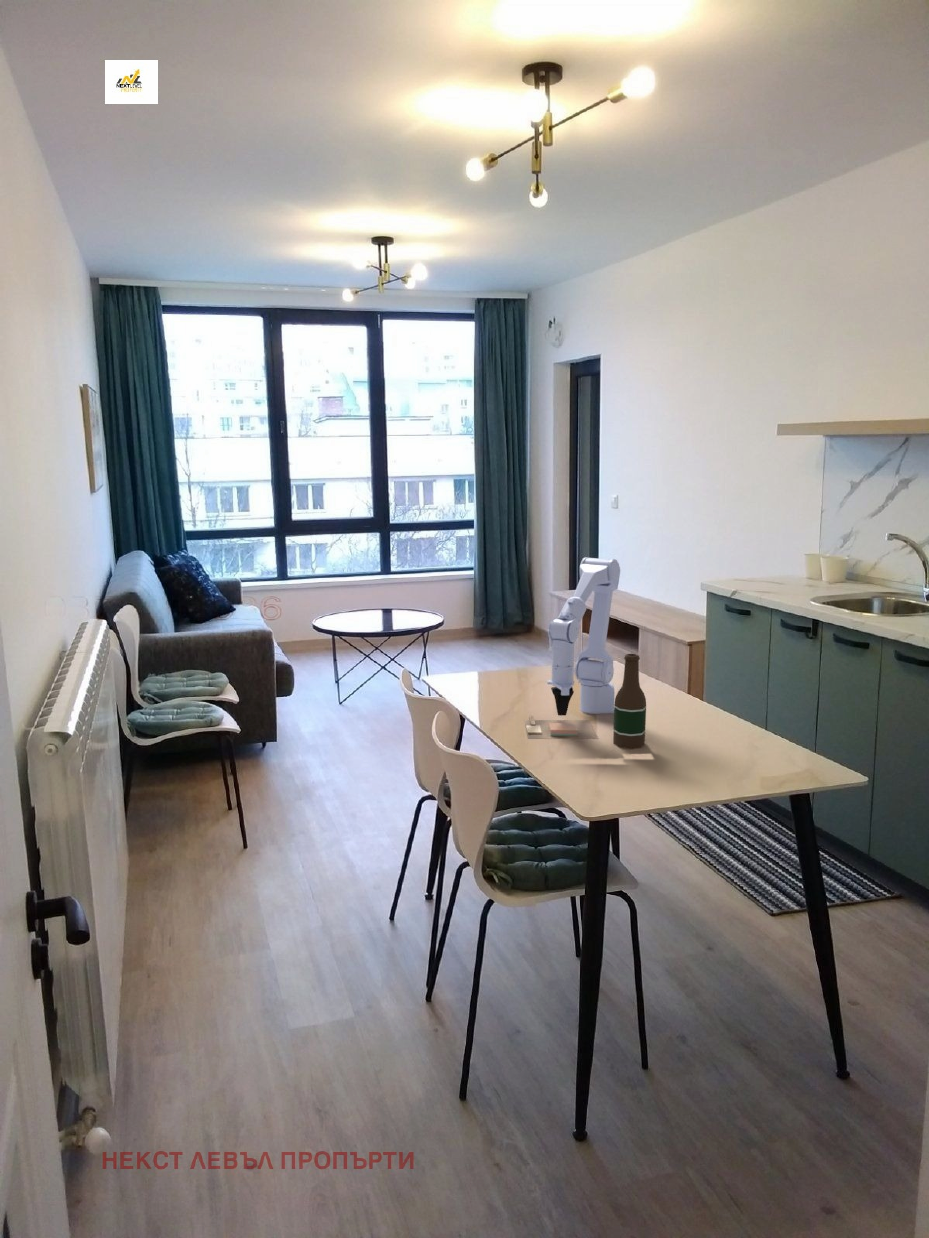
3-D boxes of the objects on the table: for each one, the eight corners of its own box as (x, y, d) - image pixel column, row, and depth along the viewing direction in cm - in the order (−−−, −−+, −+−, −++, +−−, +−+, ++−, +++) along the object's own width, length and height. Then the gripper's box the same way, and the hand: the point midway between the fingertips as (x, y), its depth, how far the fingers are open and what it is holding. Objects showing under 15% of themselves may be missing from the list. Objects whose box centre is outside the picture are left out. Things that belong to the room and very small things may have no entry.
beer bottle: (606, 747, 224) (609, 654, 219) (626, 741, 229) (629, 649, 224) (630, 755, 218) (634, 659, 213) (651, 749, 223) (654, 655, 218)
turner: (537, 718, 244) (537, 715, 244) (541, 734, 231) (541, 731, 230) (524, 718, 244) (524, 715, 244) (527, 734, 231) (527, 731, 230)
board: (590, 724, 243) (590, 720, 243) (598, 743, 227) (598, 738, 227) (524, 724, 243) (524, 720, 243) (527, 742, 227) (527, 738, 227)
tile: (575, 723, 235) (578, 729, 229) (575, 728, 235) (577, 735, 229) (548, 722, 235) (550, 729, 229) (548, 728, 235) (550, 735, 229)
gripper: (545, 658, 241) (544, 706, 243) (550, 671, 227) (549, 722, 229) (571, 658, 241) (570, 706, 243) (577, 671, 227) (576, 722, 229)
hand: (561, 714), depth 236 cm, fingers closed
